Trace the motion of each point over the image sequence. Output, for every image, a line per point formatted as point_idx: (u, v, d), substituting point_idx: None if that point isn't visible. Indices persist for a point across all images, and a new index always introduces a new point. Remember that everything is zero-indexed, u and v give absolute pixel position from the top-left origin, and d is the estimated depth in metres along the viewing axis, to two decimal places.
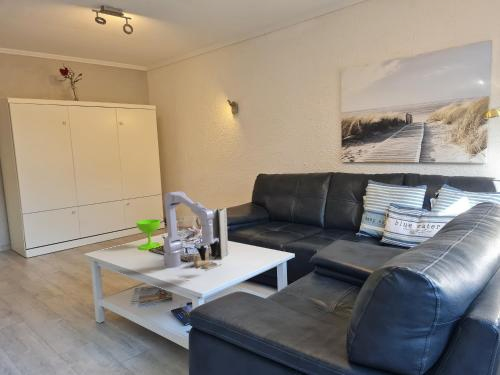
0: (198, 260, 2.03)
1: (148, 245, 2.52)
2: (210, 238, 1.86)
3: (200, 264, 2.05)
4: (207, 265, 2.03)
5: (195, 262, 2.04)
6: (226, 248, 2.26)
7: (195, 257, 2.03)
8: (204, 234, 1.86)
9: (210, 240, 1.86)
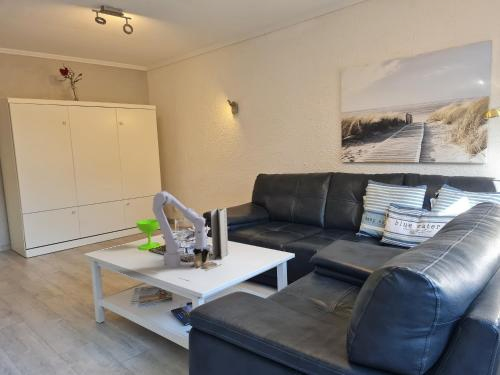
0: (198, 260, 2.03)
1: (148, 245, 2.52)
2: (196, 243, 2.04)
3: (200, 264, 2.05)
4: (207, 265, 2.03)
5: (195, 262, 2.04)
6: (226, 248, 2.26)
7: (195, 257, 2.03)
8: None
9: (196, 245, 2.04)
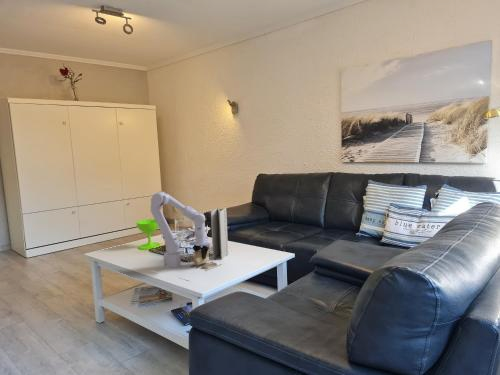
0: (198, 257, 2.03)
1: (148, 245, 2.52)
2: (196, 240, 2.04)
3: (200, 261, 2.04)
4: (207, 265, 2.03)
5: (194, 259, 2.04)
6: (226, 248, 2.26)
7: (195, 254, 2.03)
8: None
9: (196, 242, 2.04)
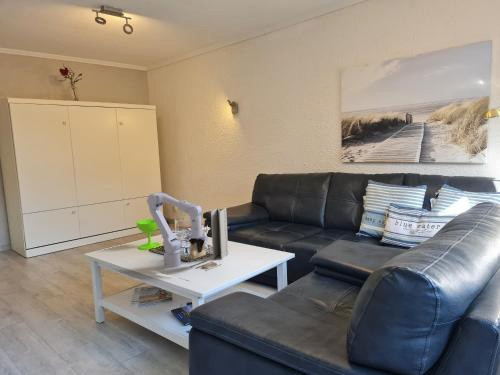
0: (194, 250, 1.98)
1: (148, 245, 2.52)
2: (192, 232, 1.98)
3: (196, 254, 1.99)
4: (207, 265, 2.03)
5: (191, 252, 1.98)
6: (226, 248, 2.26)
7: (191, 247, 1.98)
8: None
9: (192, 234, 1.99)
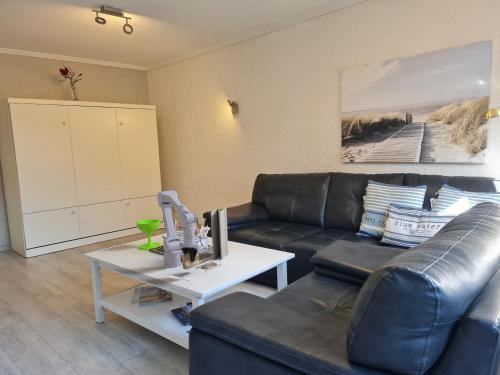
0: (187, 260, 1.88)
1: (148, 245, 2.52)
2: (184, 241, 1.89)
3: (189, 265, 1.89)
4: (207, 265, 2.03)
5: (183, 263, 1.89)
6: (226, 248, 2.26)
7: (184, 257, 1.88)
8: None
9: (184, 243, 1.89)
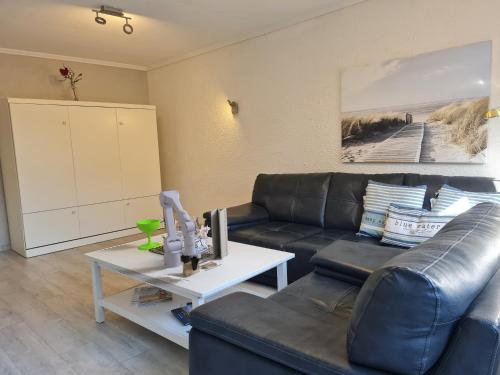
0: (187, 269, 1.89)
1: (148, 245, 2.52)
2: (185, 249, 1.89)
3: (189, 274, 1.90)
4: (207, 265, 2.03)
5: (184, 272, 1.89)
6: (226, 248, 2.26)
7: (184, 266, 1.89)
8: None
9: (185, 251, 1.90)
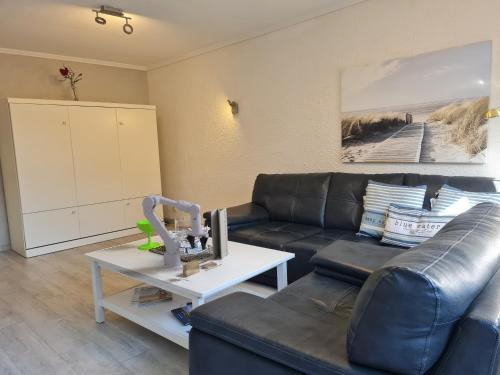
0: (187, 269, 1.89)
1: (148, 245, 2.52)
2: (192, 231, 2.04)
3: (189, 274, 1.90)
4: (207, 265, 2.03)
5: (184, 272, 1.89)
6: (226, 248, 2.26)
7: (184, 266, 1.89)
8: None
9: (192, 232, 2.04)
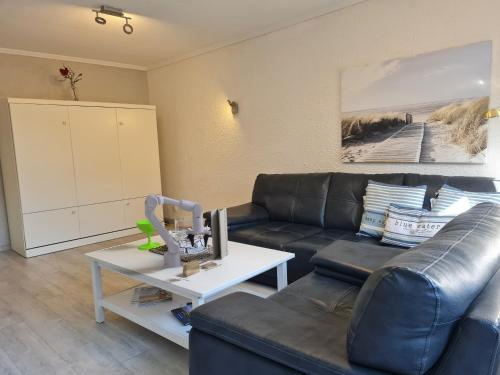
0: (187, 269, 1.89)
1: (148, 245, 2.52)
2: (195, 229, 2.08)
3: (189, 274, 1.90)
4: (207, 265, 2.03)
5: (184, 272, 1.89)
6: (226, 248, 2.26)
7: (184, 266, 1.89)
8: None
9: (195, 231, 2.08)
